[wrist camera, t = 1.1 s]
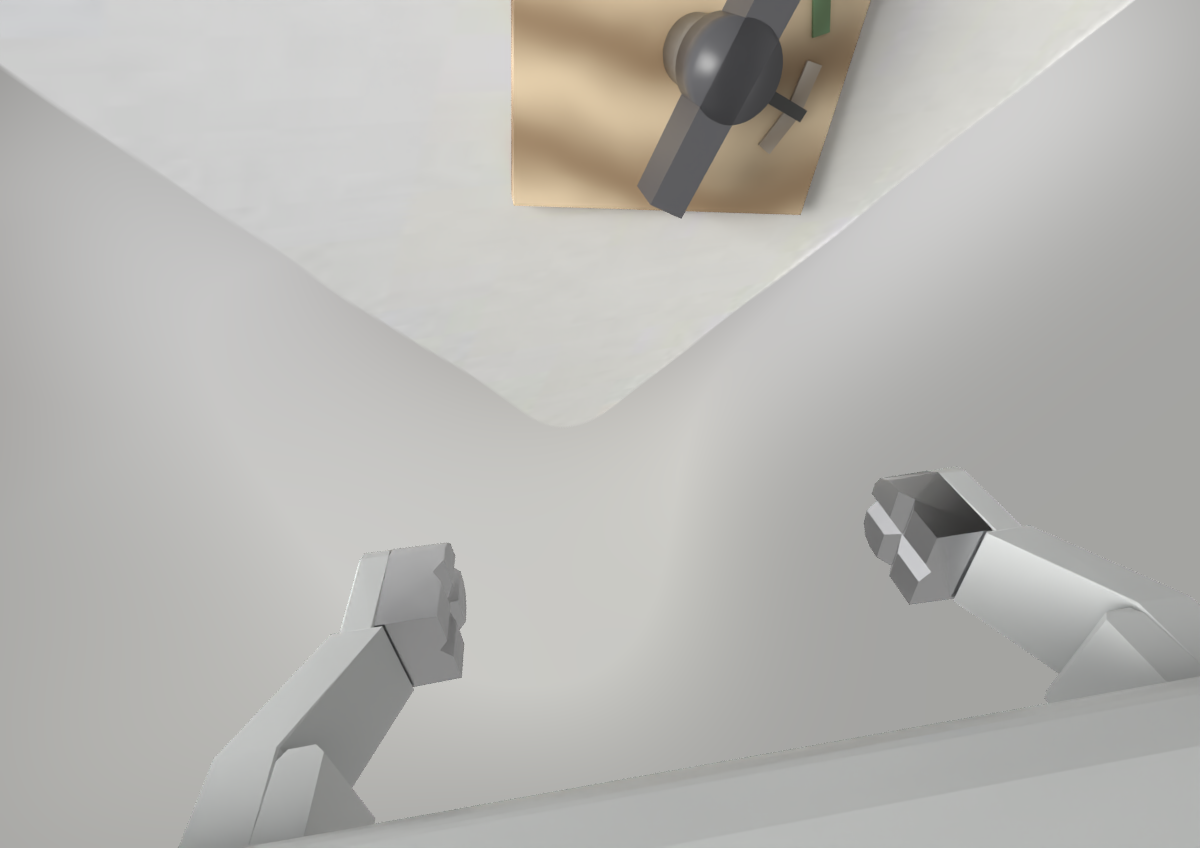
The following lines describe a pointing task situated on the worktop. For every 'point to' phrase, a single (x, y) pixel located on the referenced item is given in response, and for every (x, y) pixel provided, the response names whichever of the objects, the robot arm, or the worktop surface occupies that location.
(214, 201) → the worktop surface
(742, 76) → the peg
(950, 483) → the robot arm
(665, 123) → the tuner board
